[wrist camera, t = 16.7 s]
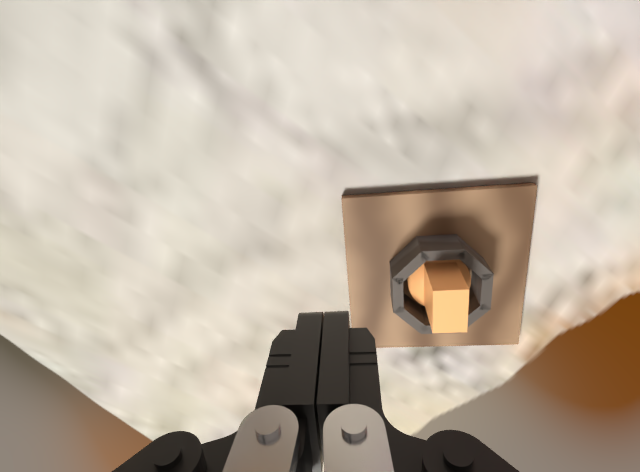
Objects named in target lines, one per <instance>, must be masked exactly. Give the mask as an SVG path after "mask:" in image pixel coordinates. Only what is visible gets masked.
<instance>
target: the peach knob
mask: <svg viewBox="0 0 640 472" xmlns="http://www.w3.org/2000/svg"><path fill="white" fill-rule="evenodd" d="M407 282H408V287H409V291H410V293H411V295H412V297H413V298H414V299H415V300H416V301H417V302H418V303H420V304H421V305H423V306H425V308H426V312H427V315H428V319H429V323H430V326H431V330H432V333H458V332H467V326H468V306H469V289H470V285H471V275H470V272H469V270H468V268H467V266H466V265H465V264H464V263H463V262H462V261H461V260H439V261H426V262H425V263H424V264H422V265H421V266H420V267H419V268H418V269H417V270H416V271H415V272H414V273H413V274H411V275H410V276H409V277H408V278H407Z"/></svg>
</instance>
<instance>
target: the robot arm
mask: <svg viewBox="0 0 640 472" xmlns="http://www.w3.org/2000/svg"><path fill="white" fill-rule="evenodd" d="M323 463H324V472H519V471H518V470H516V469H515V468H514V467H513V466H511V465H510V464H509V463H508V462H506V461H505V460H504V459H502V458H501V457H500V456H499V455H497V454H496V453H495V452H493V451H492V450H491V449H490V448H488V447H487V446H486V445H485V444H483V443H482V442H481V441H479V440H478V439H477V438H475V437H473V436H471V435H470V434H467V433H465V432H461V431H456V430H444V431H440V432H437V433H435V434H433V435H432V436H430V437H429V438H428V440H427V441H426V440H423V439H419V438H416V437H412V436H409V435H406V434H404V433H402V432H400V431H399V430H397V429H396V428H394V427H393V426H392V425H391V424H390V423H389V422H388V420H387V419H386V417H385V416H384V413H383V410H382V403H381V393H380V384H379V374H378V365H377V354H376V344H375V338H374V337H373V335H372V334H371V333H370V331H369V330H368V329H367V327H366V328H350V326H349V312H348V311H337V312H325V313H324V314H323V312H311V313H299V315H298V320H297V326H296V330H282V331H281V332H280V333H279V335H278V336H277V337H276V338H275V339H274V340H273V342H272V345H271V349H270V353H269V357H268V361H267V365H266V369H265V372H264V376H263V380H262V384H261V388H260V392H259V396H258V399H257V403H256V407H255V410H254V411H253V412H251V413H250V414H248V415H247V416H246V417H245V418H244V420H243V421H242V422H241V424H240V426H239V429H238V431H237V432H235V433H233V434H231V435H229V436H227V437H224V438H221V439H217V440H214V441H211V442H207V443H204V444H201V443H200V441H199V439H198V438H197V437H196V436H195V435H194V434H192V433H190V432H185V431H177V432H171V433H168V434H165V435H163V436H161V437H159V438H157V439H156V440H154V441H153V442H151V443H150V444H149V445H147V446H146V447H145V448H143V449H142V450H141V451H139V452H138V453H137V454H135V455H134V456H133V457H131V458H130V459H129V460H127V461H126V462H125V463H123V464H122V465H120V466H119V467H118V468H116V469H115V470H114V471H112V472H322V467H323Z"/></svg>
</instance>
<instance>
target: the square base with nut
mask: <svg viewBox="0 0 640 472" xmlns="http://www.w3.org/2000/svg"><path fill="white" fill-rule="evenodd" d="M536 193H537V185H536V184H534V183H520V184H506V185H491V186H476V187H461V188H446V189H432V190H417V191H402V192H387V193H372V194H357V195H343V196H342V210H343V223H344V235H345V248H346V261H347V273H348V286H349V298H350V311H351V323H352V328H366V327H367V329H368V330H369V331H370V333H371V334H372V335H373V337H374V338H375V344H376V348H383V347H425V346H467V345H509V344H518V342H519V334H520V326H521V317H522V309H523V301H524V292H525V284H526V276H527V268H528V259H529V251H530V243H531V234H532V226H533V218H534V210H535V201H536ZM439 260H461V261H462V262H463V263H464V264H465V265H466V266H467V268H468V270H469V272H470V275H471V285H470V289H469V306H468V326H467V332H458V333H432V330H431V326H430V323H429V319H428V315H427V312H426V308H425V306H423V305H421V304H420V303H418V302H417V301H416V300H415V299H414V298H413V297H412V295H411V293H410V291H409V287H408V282H407V278H408V277H409V276H410V275H411V274H413V273H414V272H415V271H416V270H417V269H418V268H419V267H420V266H421V265H422V264H424V263H425V262H426V261H439Z"/></svg>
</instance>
